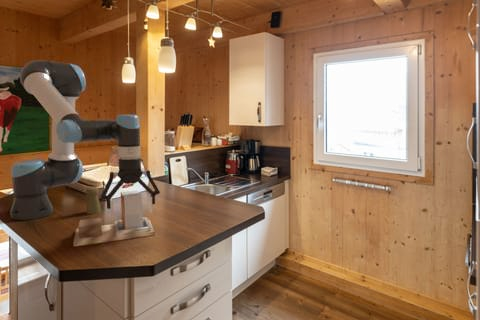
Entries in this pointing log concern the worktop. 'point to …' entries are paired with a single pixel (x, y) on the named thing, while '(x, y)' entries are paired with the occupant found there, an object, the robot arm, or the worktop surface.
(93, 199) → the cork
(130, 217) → the small box
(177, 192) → the worktop surface
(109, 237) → the board
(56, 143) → the robot arm
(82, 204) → the worktop surface
